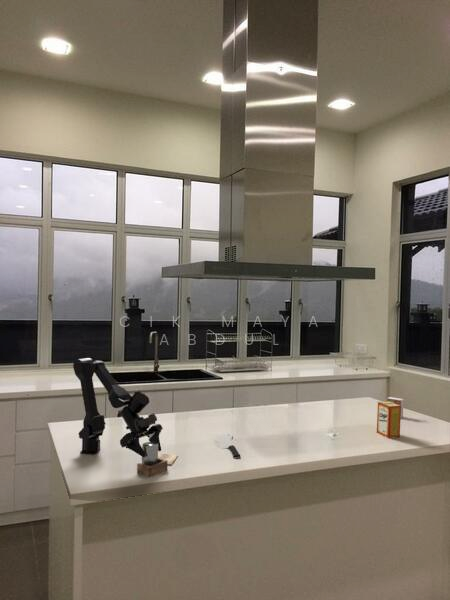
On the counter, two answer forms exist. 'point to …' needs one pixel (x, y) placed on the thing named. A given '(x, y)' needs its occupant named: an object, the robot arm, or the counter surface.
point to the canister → (150, 453)
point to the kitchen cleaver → (227, 444)
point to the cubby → (152, 468)
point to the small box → (398, 402)
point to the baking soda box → (388, 419)
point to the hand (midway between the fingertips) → (152, 453)
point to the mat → (168, 458)
